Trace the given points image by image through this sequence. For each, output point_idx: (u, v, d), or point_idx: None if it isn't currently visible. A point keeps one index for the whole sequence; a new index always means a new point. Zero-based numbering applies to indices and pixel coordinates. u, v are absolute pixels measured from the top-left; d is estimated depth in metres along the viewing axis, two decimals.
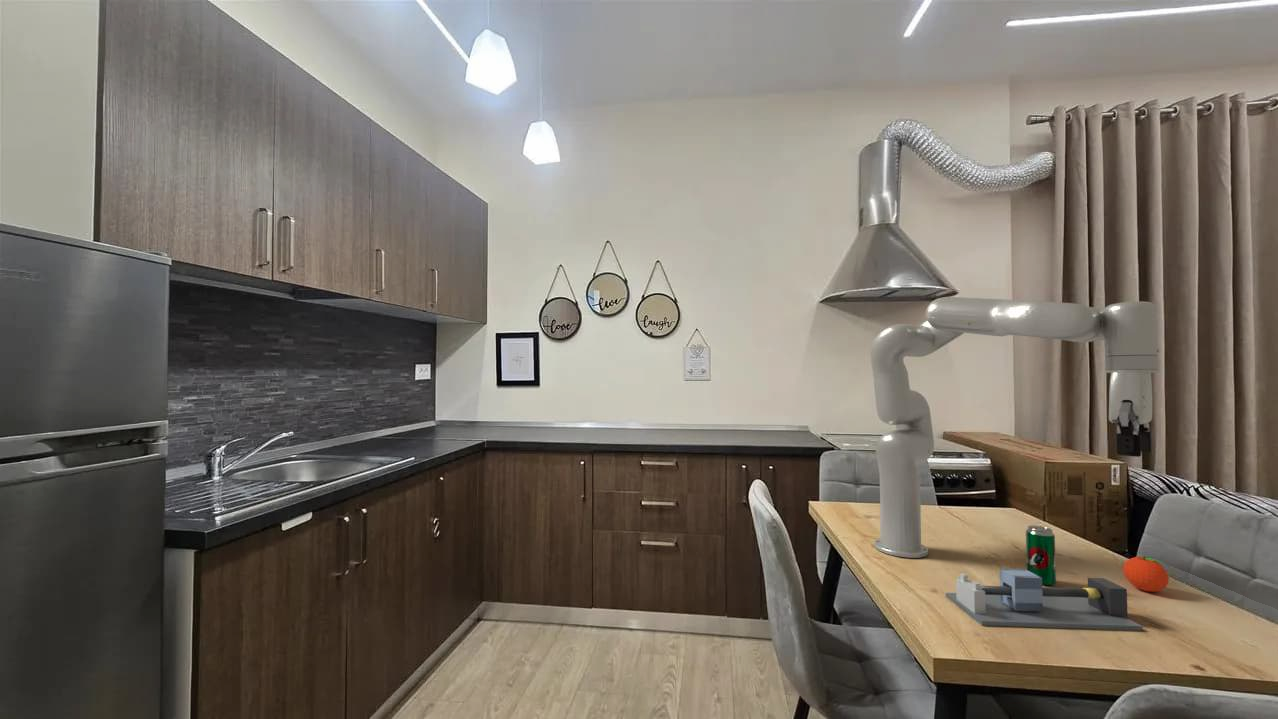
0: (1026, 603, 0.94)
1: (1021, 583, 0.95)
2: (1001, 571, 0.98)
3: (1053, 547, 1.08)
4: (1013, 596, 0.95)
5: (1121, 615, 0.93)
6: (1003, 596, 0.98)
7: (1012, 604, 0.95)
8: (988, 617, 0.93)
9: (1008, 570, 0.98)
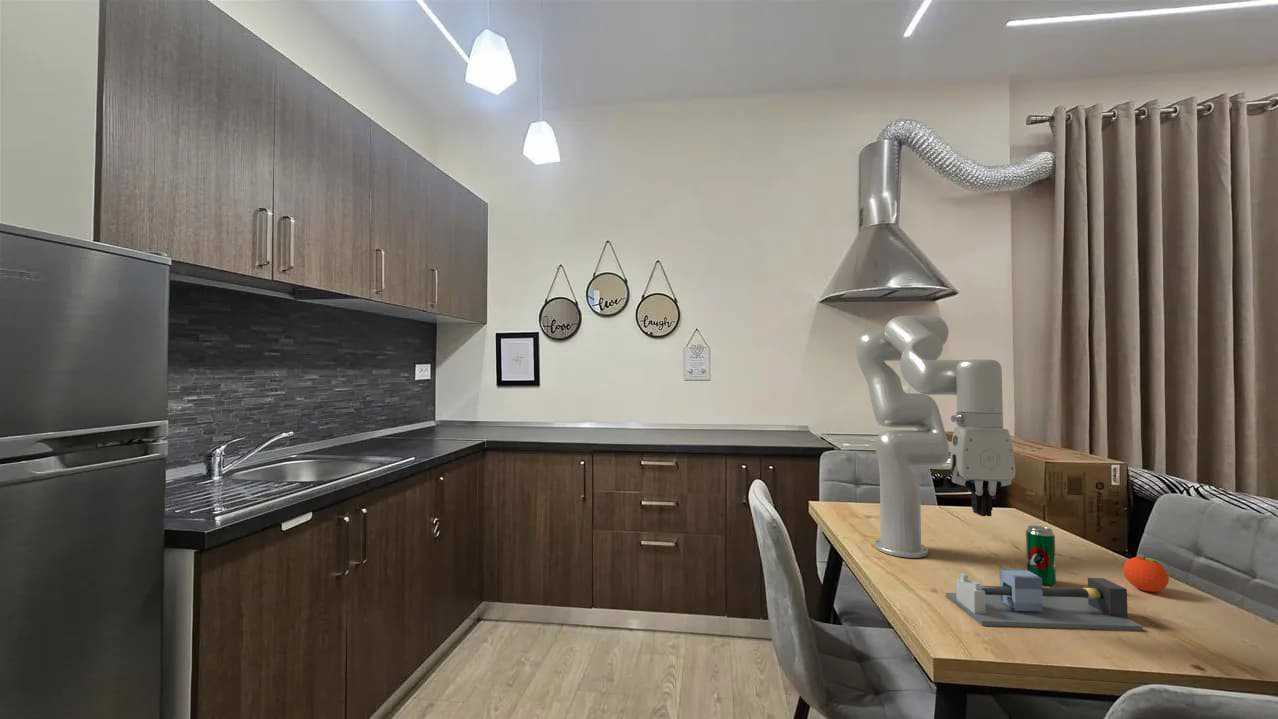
0: (1026, 603, 0.94)
1: (1021, 583, 0.95)
2: (1001, 571, 0.98)
3: (1053, 547, 1.08)
4: (1013, 596, 0.95)
5: (1121, 615, 0.93)
6: (1003, 596, 0.98)
7: (1012, 604, 0.95)
8: (988, 617, 0.93)
9: (1008, 570, 0.98)
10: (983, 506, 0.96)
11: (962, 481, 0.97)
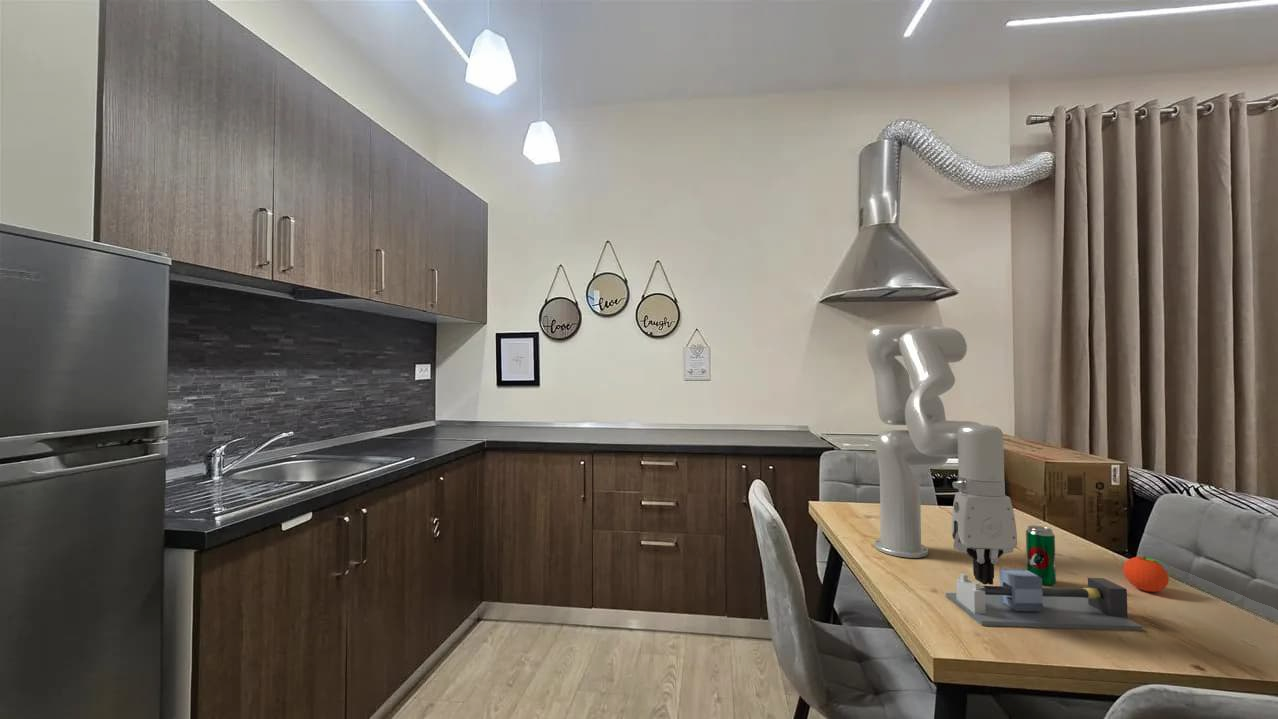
0: (1026, 603, 0.94)
1: (1021, 583, 0.95)
2: (1001, 571, 0.98)
3: (1053, 547, 1.08)
4: (1013, 596, 0.95)
5: (1121, 615, 0.93)
6: (1003, 596, 0.98)
7: (1012, 604, 0.95)
8: (988, 617, 0.93)
9: (1008, 570, 0.98)
10: (985, 574, 0.95)
11: (964, 549, 0.97)
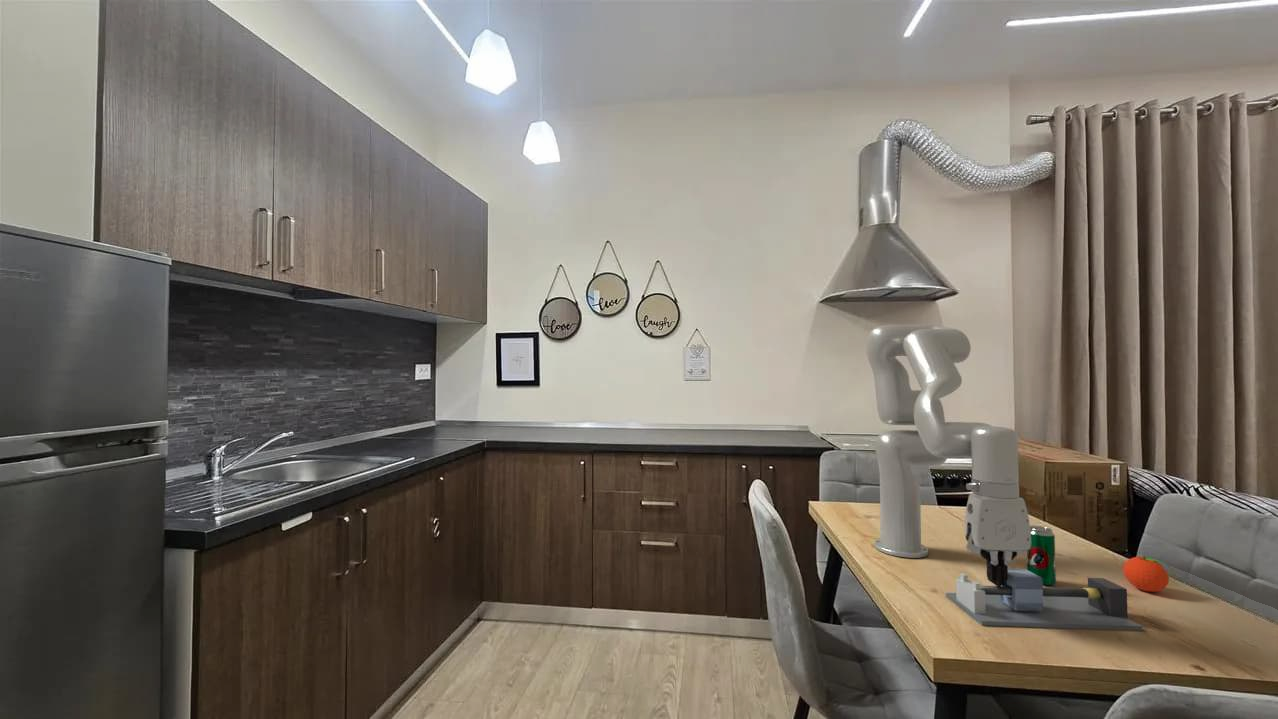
0: (1026, 603, 0.94)
1: (1021, 583, 0.95)
2: None
3: (1053, 547, 1.08)
4: (1013, 596, 0.95)
5: (1121, 615, 0.93)
6: (1003, 596, 0.98)
7: (1012, 604, 0.95)
8: (988, 617, 0.93)
9: (1008, 570, 0.98)
10: (998, 576, 0.95)
11: (977, 550, 0.97)
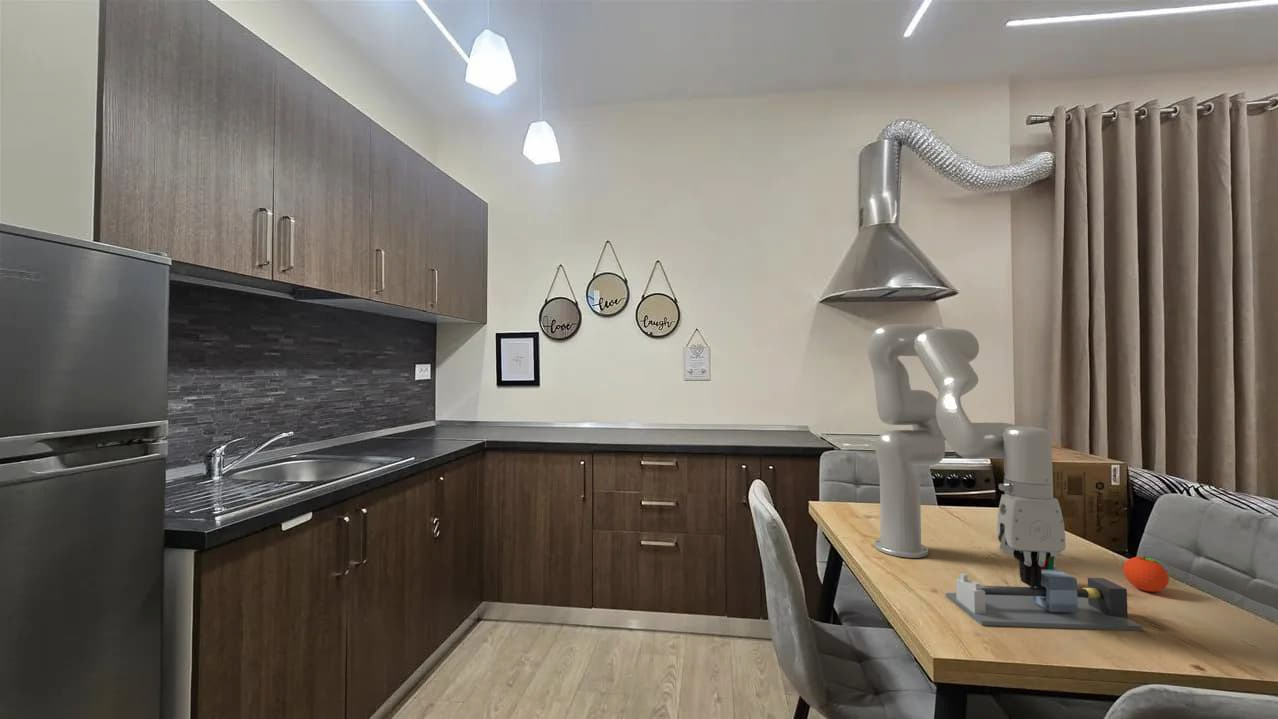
0: (1061, 604, 0.94)
1: (1055, 584, 0.94)
2: None
3: None
4: (1047, 597, 0.95)
5: (1121, 615, 0.93)
6: (1036, 597, 0.97)
7: (1046, 605, 0.95)
8: (988, 617, 0.93)
9: (1041, 571, 0.98)
10: (1032, 577, 0.95)
11: (1011, 551, 0.96)
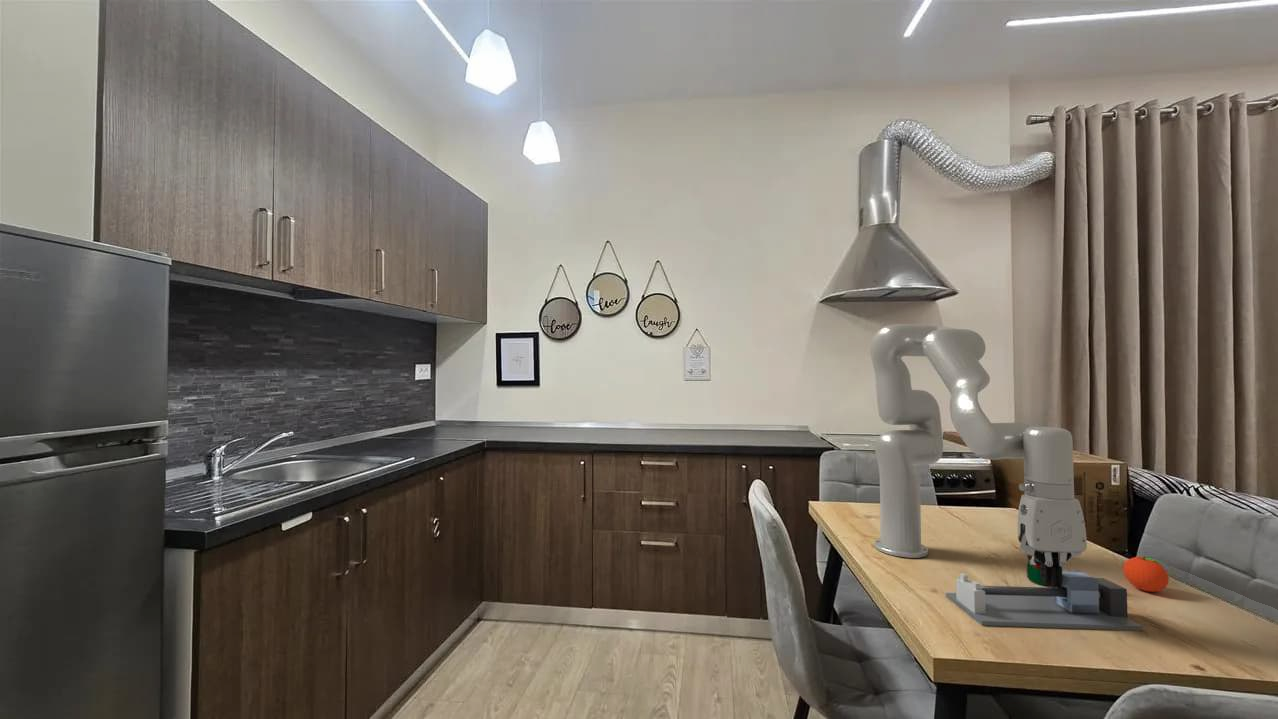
0: (1082, 605, 0.94)
1: (1076, 585, 0.94)
2: None
3: None
4: (1069, 598, 0.94)
5: (1121, 615, 0.93)
6: (1057, 598, 0.97)
7: (1067, 606, 0.95)
8: (988, 617, 0.93)
9: (1062, 571, 0.97)
10: (1053, 578, 0.95)
11: (1031, 552, 0.96)
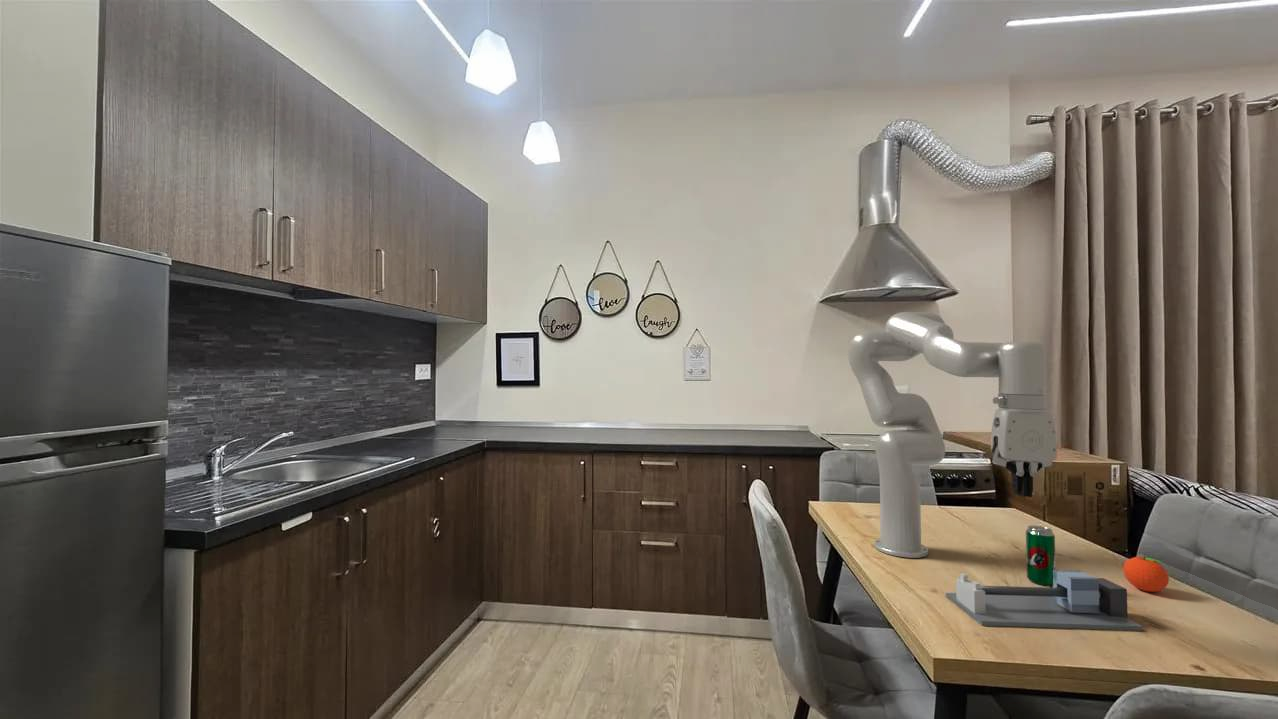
0: (1082, 605, 0.94)
1: (1077, 585, 0.94)
2: (1055, 572, 0.98)
3: (1053, 547, 1.08)
4: (1069, 598, 0.94)
5: (1121, 615, 0.93)
6: (1057, 598, 0.97)
7: (1068, 606, 0.95)
8: (988, 617, 0.93)
9: (1062, 571, 0.97)
10: (1024, 487, 0.97)
11: (1003, 462, 0.98)
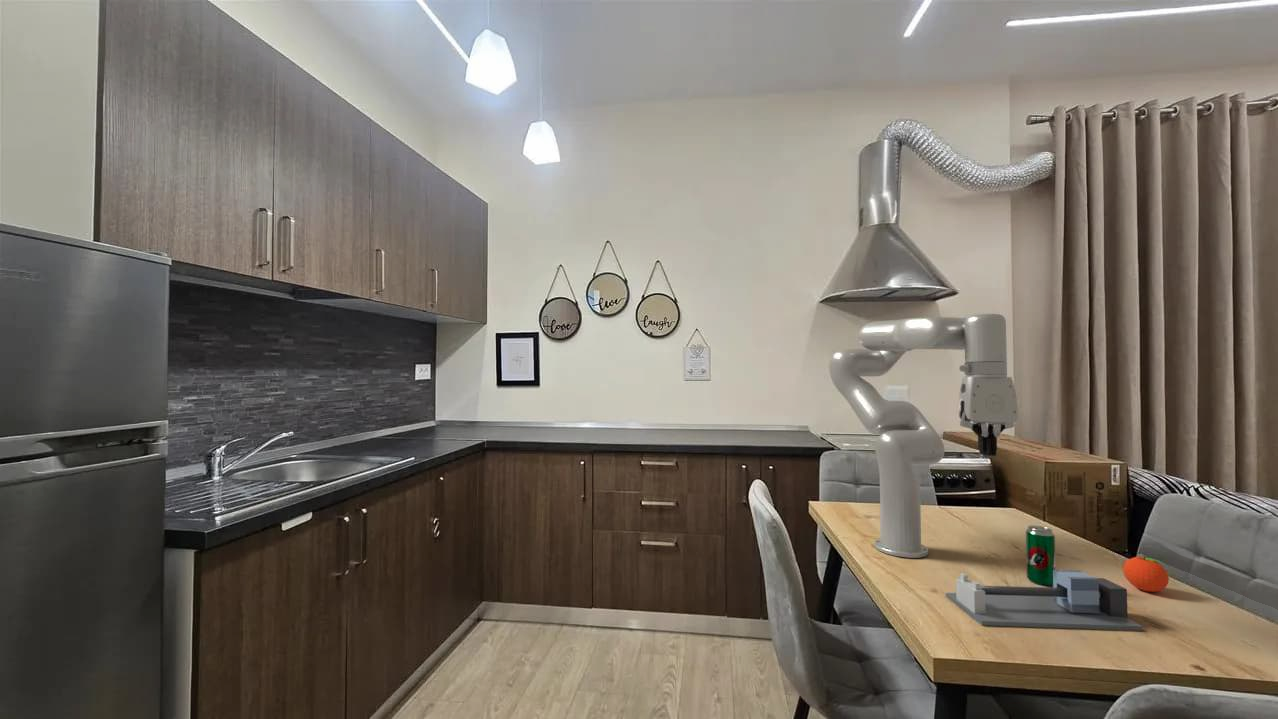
0: (1082, 605, 0.94)
1: (1077, 585, 0.94)
2: (1055, 572, 0.98)
3: (1053, 547, 1.08)
4: (1069, 598, 0.94)
5: (1121, 615, 0.93)
6: (1057, 598, 0.97)
7: (1068, 606, 0.95)
8: (988, 617, 0.93)
9: (1062, 571, 0.97)
10: (988, 446, 1.06)
11: (970, 425, 1.07)
